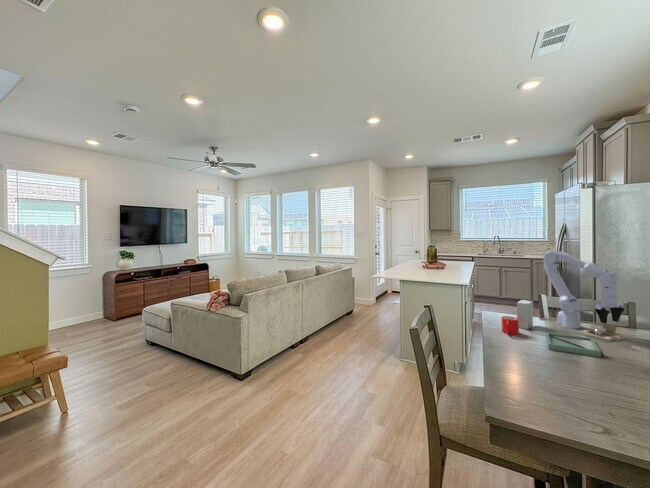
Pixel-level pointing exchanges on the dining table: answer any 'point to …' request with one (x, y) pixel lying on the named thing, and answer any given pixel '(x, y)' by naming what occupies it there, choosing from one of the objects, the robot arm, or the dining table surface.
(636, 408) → the dining table surface
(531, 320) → the skincare box
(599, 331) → the stake
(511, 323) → the mug
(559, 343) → the tray
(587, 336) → the stake board
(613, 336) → the tan wooden square frame
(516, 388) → the dining table surface
